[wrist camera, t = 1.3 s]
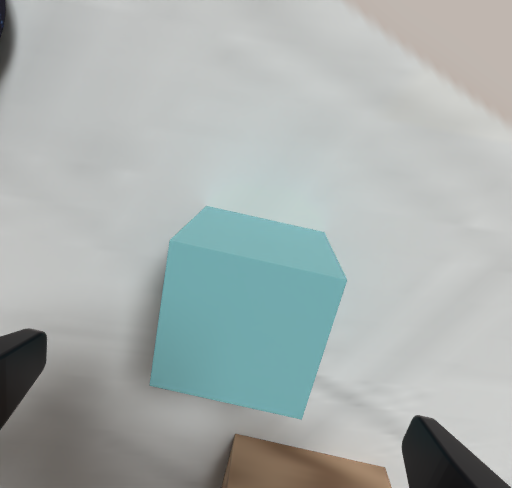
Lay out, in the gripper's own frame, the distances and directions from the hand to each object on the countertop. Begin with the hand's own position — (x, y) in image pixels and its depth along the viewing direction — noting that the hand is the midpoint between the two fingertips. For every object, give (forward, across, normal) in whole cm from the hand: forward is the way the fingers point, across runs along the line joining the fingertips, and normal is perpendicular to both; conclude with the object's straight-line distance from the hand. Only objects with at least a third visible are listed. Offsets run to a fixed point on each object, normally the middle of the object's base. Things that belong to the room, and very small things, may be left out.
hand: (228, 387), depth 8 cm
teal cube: (+7, 0, 0) cm, 7 cm away
